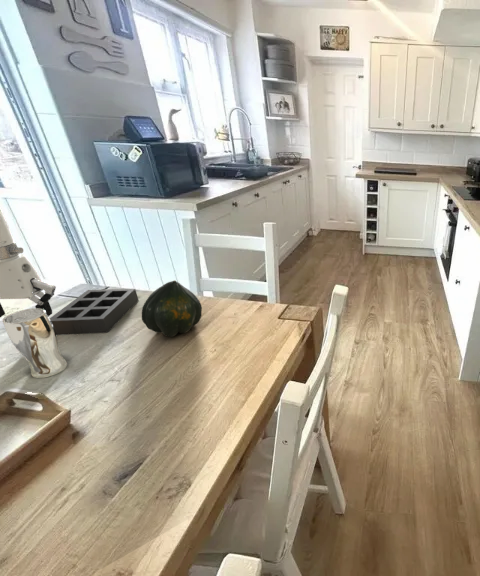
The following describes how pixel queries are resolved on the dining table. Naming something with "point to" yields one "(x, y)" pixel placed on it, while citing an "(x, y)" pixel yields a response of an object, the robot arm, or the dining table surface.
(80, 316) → the holder
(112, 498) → the dining table surface
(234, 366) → the dining table surface
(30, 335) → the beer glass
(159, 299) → the squash
